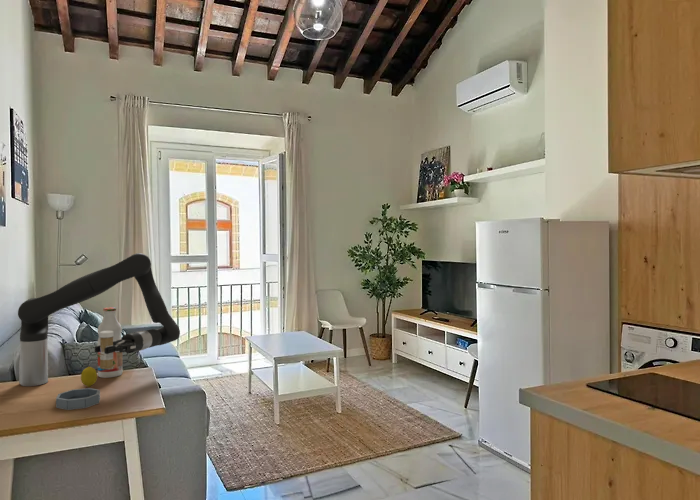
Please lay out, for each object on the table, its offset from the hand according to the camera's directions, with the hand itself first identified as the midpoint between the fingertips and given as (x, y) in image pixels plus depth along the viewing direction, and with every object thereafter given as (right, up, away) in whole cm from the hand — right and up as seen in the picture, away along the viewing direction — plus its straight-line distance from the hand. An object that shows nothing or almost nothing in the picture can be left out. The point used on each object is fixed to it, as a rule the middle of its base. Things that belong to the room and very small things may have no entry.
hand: (100, 350), depth 187 cm
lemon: (-10, -16, +11) cm, 22 cm away
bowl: (-4, -17, -8) cm, 19 cm away
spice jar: (+1, -7, +3) cm, 8 cm away
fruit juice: (-10, -16, +28) cm, 34 cm away
